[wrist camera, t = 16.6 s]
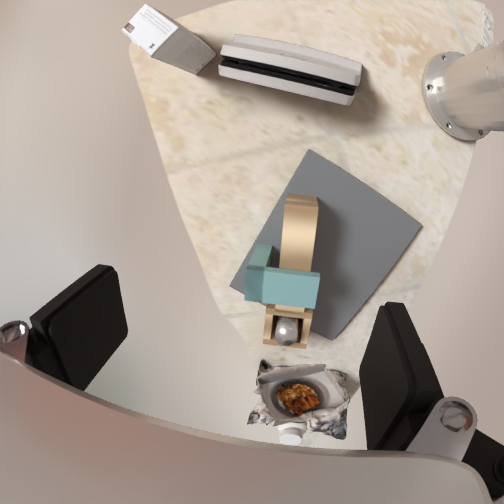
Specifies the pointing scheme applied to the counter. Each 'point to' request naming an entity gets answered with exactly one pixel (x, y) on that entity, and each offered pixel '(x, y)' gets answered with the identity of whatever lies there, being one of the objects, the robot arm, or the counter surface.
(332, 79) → the white slotted curved device
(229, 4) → the counter surface
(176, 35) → the skincare box
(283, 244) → the wooden block with hole
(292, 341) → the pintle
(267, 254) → the bracket
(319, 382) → the meal
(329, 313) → the plate
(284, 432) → the supplement bottle
